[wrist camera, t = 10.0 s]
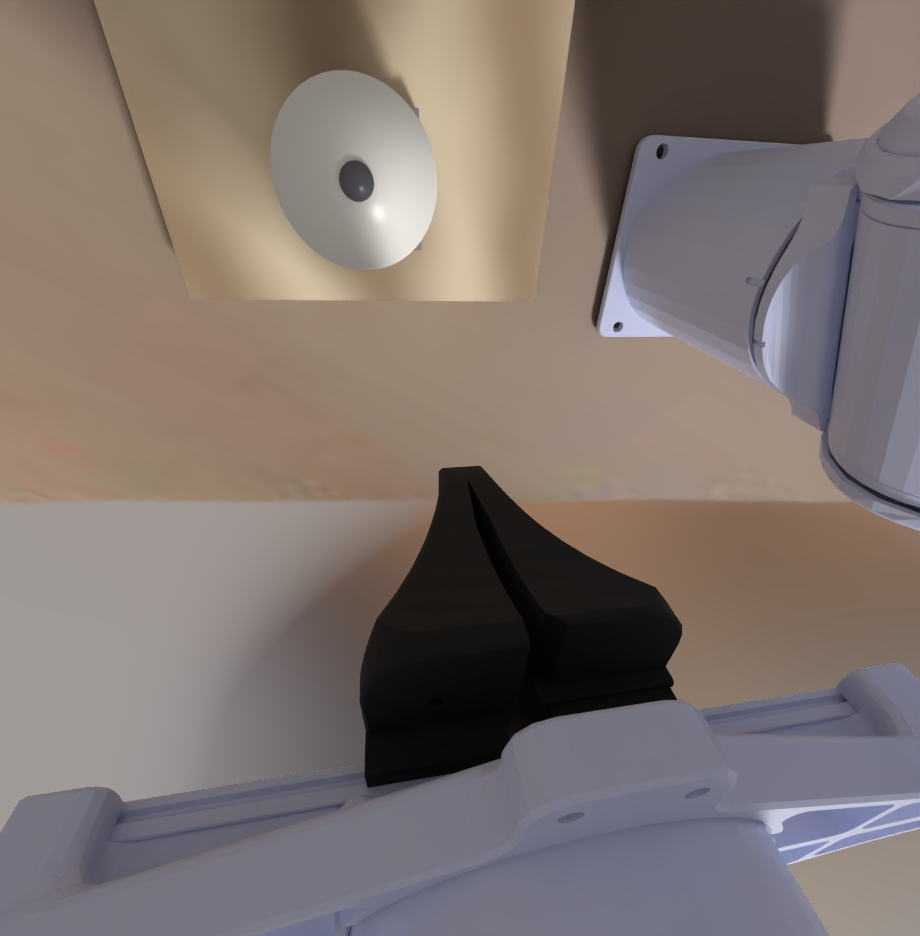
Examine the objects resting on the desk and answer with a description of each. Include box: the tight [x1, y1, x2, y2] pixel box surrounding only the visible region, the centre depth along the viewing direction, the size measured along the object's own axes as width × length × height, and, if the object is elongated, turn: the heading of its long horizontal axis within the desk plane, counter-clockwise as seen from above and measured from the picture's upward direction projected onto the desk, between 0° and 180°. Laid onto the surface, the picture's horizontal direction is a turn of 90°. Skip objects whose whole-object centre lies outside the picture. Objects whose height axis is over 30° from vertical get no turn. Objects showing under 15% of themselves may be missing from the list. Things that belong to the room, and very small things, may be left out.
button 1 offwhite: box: [270, 70, 437, 271], centre depth 13 cm, size 5×5×2 cm
